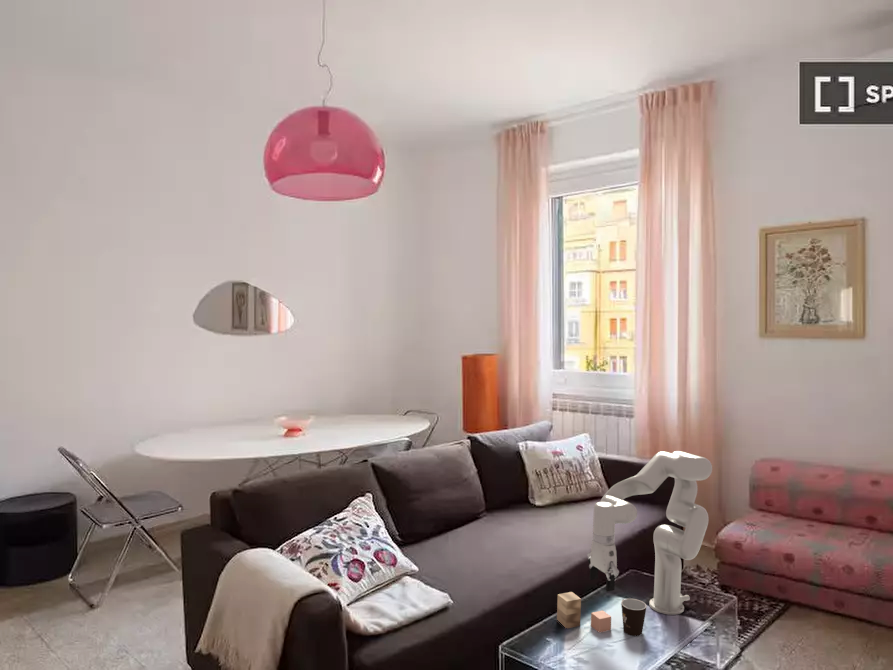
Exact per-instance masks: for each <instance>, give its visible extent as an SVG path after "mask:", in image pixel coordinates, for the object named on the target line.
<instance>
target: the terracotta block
mask: <svg viewBox="0 0 893 670" xmlns="http://www.w3.org/2000/svg"><path fill="white" fill-rule="evenodd" d="M590 627H592V629H593V630H595V631H597V632H598V633H603V632H604V633H605V632H608V631H609V632H610V631H611V630H612V616H611V615H610V614H608V613H607V612H606V611H604V610H597V611H594V612H591V613H590Z"/></svg>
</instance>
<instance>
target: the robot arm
mask: <svg viewBox="0 0 893 670" xmlns="http://www.w3.org/2000/svg"><path fill="white" fill-rule="evenodd" d="M712 472H713V465H712V462H711V461H710V459H708V458H707V457H704V456H700V455H697V454H693V453H689V452H686V451H682V450H675V451H672V452H669V451H664V450H663V451H658V452H657V453H655V454H654V455H653V457H652V458H650V460H649V461H648V462H647V463H646V464H645V465H644V466H643V467H642V468H641V470H640V471H639V472H637V474H635V475H634V476H630V477H628V478H626V479H623V480H621V481H618V482H617V483H615V484H613V485H612V486H611V487H610V488H609V489H608V490H607V491H606V492H605V493H604V495H603V496H602V498H601V499H600V501H598V502H596V503H595V504H594V505H593V516H592V517H593V519H592V520H593V522H592V541H591V545H590V552H587V553H586V556H587V562H588V564H589V565H588V568H589V580H590V581H593V580H598V579H599V571H600V572H602V573H604V574H605V575H606V578H607V579H606V580H605V581H606V582H605V591H606V592H611V591H615V585H616V584H615V583H616V580H617V578H618V576H619V574H620V570H619V569H618V568H617V567H618V565H617V564H618V563H617V562H618V559H617V555H618V554H617V547H616V544H615V535H616V530H615V529H616V528H615V527H616V524H620V525H621V524H623V525H624V524H631V523H632V522H634V521H635V520H636V519H637V517H638V510H637V508H636V506H635V505H634V504H633V503H632V502H629V501H627V500H625V499H626V498H630V497H632V496H638V495H640V496H641V495H648V494H653V493H654V492H656V491H657V489H658V488H659V487H660V486H661V485H662V484H663V483H664V481H666V480H667V478H669V477H671V478H674V486H673V489H672V493H671V496H670V499H669V502H668V504H667V507H666V511H665V515H666V519H668V520H669V522H671V523H674V524H676V525H678V526H680V527H683V528H685V529H683V530H682V529H681V528H678V527H676V526H673V525H669V524H661V525H660V524H659V525H658V526H657V527H655V530H654V531H653V536H652V537H653V539H652V540H653V541H652V542H653V544H654V553H655V554H654V556H655V557H654V558H655V559H654V560H655V561H654V584H653V585H654V586H653V598H650V599H649V602H648V603H649V604H648V605H649V606H650V608H651V609H653V610H654V611H655V612H657V613H660V614H664V615H669V616H670V615H671V616H674V615H676V616H677V615H681V614H682V613H683V612H684V611H685V606H684V604H683V603H684V601H690V598H691V597H690V596H689V595H688V594H685V595H683V594H682V593H681V585H682V584H681V583H682V560H681V559H683V560H686V561H692V560H694V559H695V558H696V557H697V555H698V554H699V551H700V549H701V547H702V543H703V540H704V538H705V535H706V531H707V529H708V525H709V514H708V512H707V510H706V508H705V507H703V506H702V505H700V504H697V503H696V502H695V501H696V500H697V499H696V498H697V494H698V483H697V481H705V480H707V479H708V478H709V477H710V476H711V475H712Z"/></svg>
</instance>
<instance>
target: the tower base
mask: <svg viewBox="0 0 893 670" xmlns="http://www.w3.org/2000/svg"><path fill="white" fill-rule="evenodd" d="M556 610H557V611H556V621H557V620H558V621H559V622H560V623H561V624H562V625H563V626H564V627H565V628H564V627H563V626H562V625H561V624H560V623H559V622H558V621H557V622H558V623H559V624H560V625H561V626H562V627H563V628H564V629H566V628H567V629H571V628H572V629H573V628H576V627H581V612H580V613H575V614H570V615H566V614H564V613H563V612H562V611H561V610H559V609H558V608H556Z"/></svg>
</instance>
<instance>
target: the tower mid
mask: <svg viewBox="0 0 893 670" xmlns="http://www.w3.org/2000/svg"><path fill="white" fill-rule="evenodd" d="M556 604H557V605H556V606H557V608H558V609H559V610H561V611H562V612H563V613H564V614H566V615H570V614H575V613H580V612H581V611H582V609H581V608H582V598H580V597H579V596H578V595H577V594H575V593H574V592H573V591H569V592H563V593H559V594H557V603H556ZM557 608H556V609H557Z"/></svg>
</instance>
